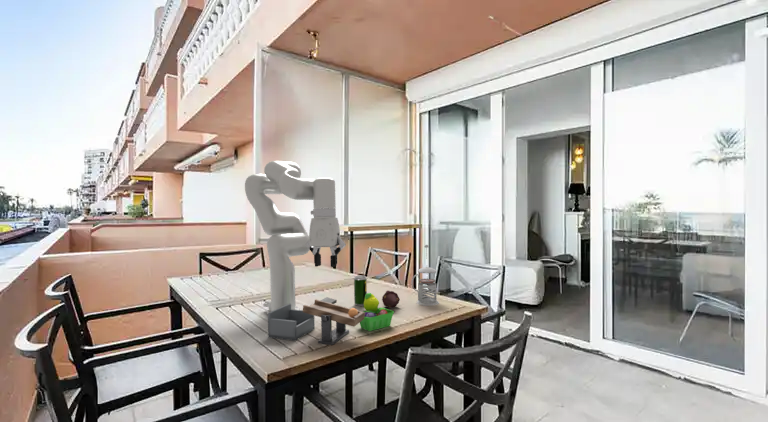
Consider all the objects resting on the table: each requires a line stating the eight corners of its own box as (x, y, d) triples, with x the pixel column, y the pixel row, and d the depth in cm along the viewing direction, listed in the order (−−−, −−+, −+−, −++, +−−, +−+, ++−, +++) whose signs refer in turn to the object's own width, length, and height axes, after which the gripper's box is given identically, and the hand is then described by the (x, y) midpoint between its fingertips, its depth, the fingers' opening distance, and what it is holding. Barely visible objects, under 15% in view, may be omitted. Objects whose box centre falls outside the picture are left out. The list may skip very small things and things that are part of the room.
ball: (345, 316, 115) (348, 307, 115) (349, 313, 118) (352, 305, 118) (353, 320, 114) (356, 312, 114) (357, 318, 117) (360, 309, 117)
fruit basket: (367, 333, 122) (367, 299, 122) (353, 326, 129) (353, 294, 129) (395, 326, 128) (394, 293, 128) (380, 320, 136) (379, 289, 136)
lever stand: (317, 343, 113) (316, 315, 113) (336, 330, 125) (335, 305, 125) (332, 345, 111) (331, 317, 111) (349, 331, 123) (349, 306, 123)
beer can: (355, 306, 155) (354, 277, 155) (353, 303, 160) (353, 275, 160) (368, 305, 156) (367, 277, 156) (365, 302, 162) (365, 275, 162)
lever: (302, 312, 117) (303, 304, 117) (326, 299, 132) (327, 293, 132) (354, 326, 112) (355, 318, 111) (372, 312, 127) (373, 305, 126)
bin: (268, 337, 119) (267, 312, 119) (289, 326, 131) (289, 303, 130) (295, 340, 116) (294, 315, 116) (314, 328, 127) (314, 305, 127)
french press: (441, 305, 155) (440, 245, 155) (413, 306, 154) (412, 246, 154) (436, 299, 165) (435, 243, 164) (410, 300, 164) (409, 243, 164)
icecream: (405, 295, 147) (396, 290, 161) (387, 291, 146) (380, 287, 160) (401, 312, 146) (393, 306, 161) (384, 309, 145) (376, 303, 159)
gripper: (297, 214, 127) (298, 267, 127) (342, 213, 121) (343, 269, 121) (308, 213, 134) (309, 263, 134) (351, 213, 128) (352, 265, 129)
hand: (325, 265), depth 128 cm, fingers open, 5 cm apart
